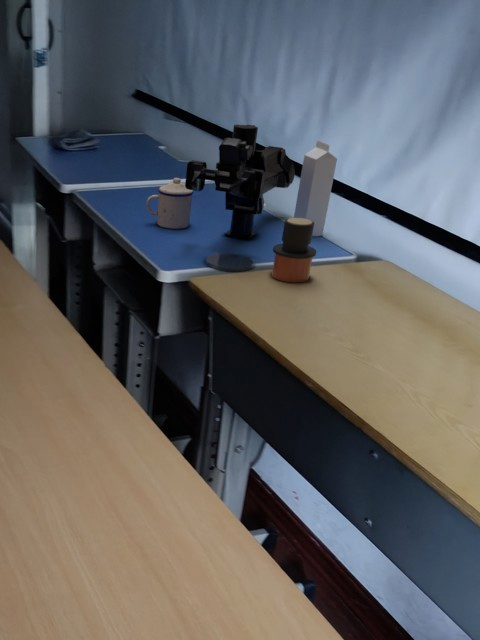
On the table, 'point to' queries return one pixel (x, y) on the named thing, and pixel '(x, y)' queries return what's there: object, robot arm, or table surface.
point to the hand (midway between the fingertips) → (210, 186)
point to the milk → (316, 186)
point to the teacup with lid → (173, 205)
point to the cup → (291, 268)
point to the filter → (296, 239)
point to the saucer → (229, 262)
